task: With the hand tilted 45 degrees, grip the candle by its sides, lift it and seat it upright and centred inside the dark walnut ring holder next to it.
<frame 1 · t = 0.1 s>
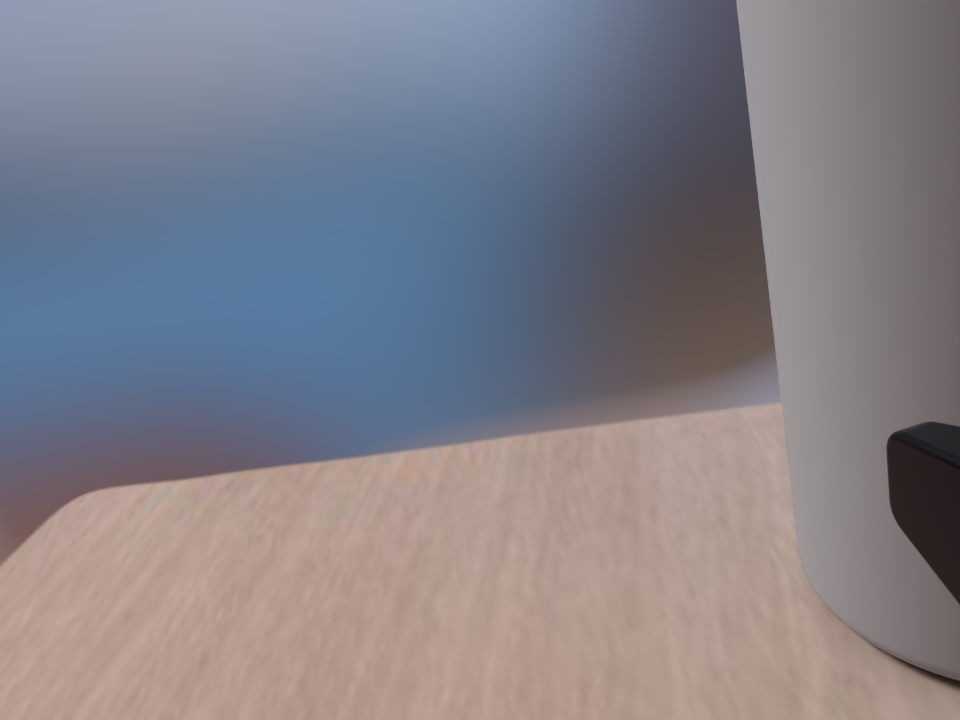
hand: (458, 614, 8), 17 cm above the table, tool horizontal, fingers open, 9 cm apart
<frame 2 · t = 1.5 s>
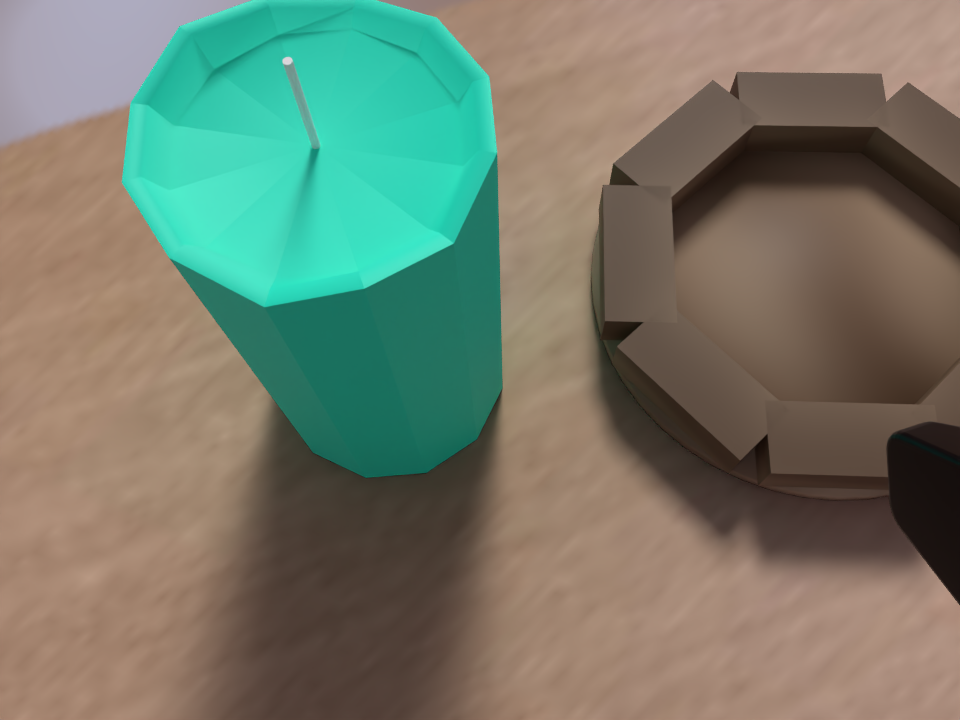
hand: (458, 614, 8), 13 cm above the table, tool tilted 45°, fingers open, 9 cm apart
candle: (392, 372, 24), on the table
ring seat: (811, 283, 24), on the table
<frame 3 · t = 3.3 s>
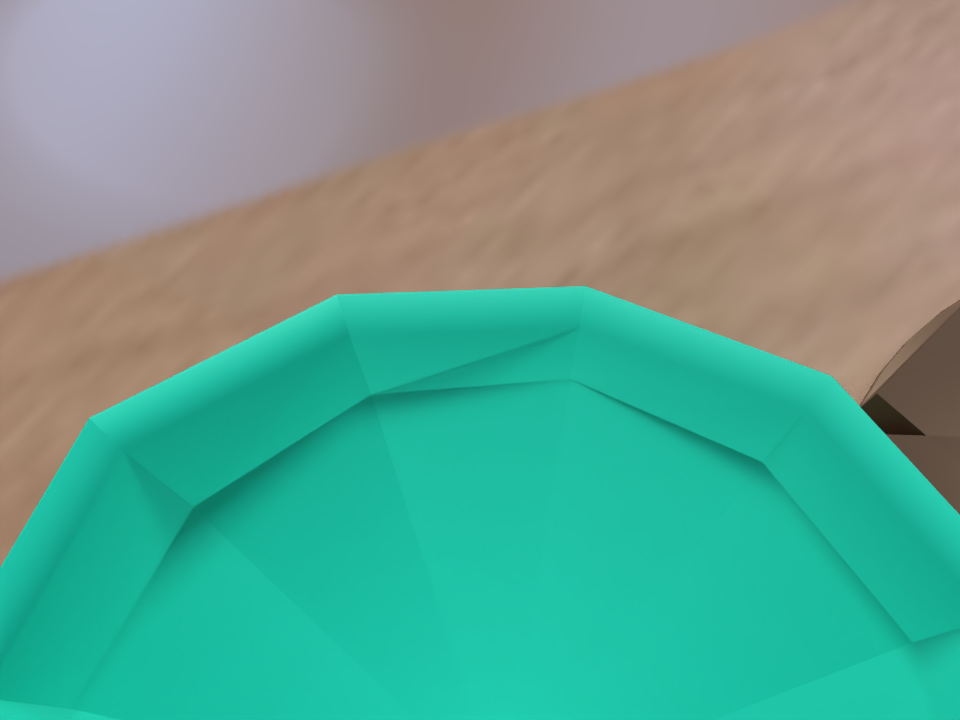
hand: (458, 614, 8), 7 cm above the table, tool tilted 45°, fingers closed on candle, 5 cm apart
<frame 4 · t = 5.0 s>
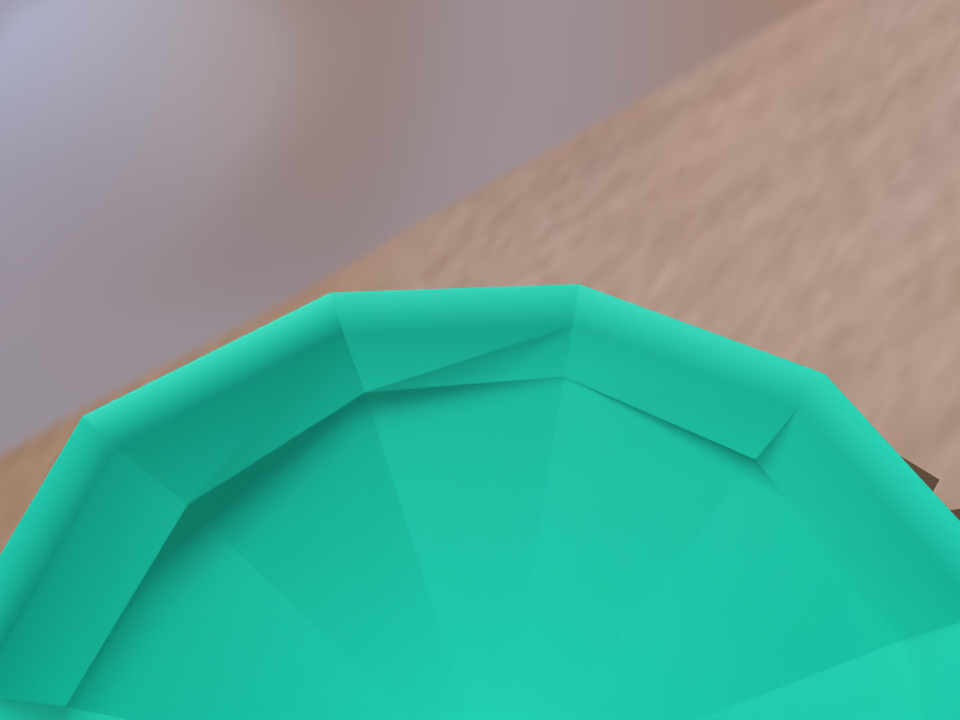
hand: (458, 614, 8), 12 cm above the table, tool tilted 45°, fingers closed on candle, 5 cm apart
ring seat: (709, 654, 20), on the table
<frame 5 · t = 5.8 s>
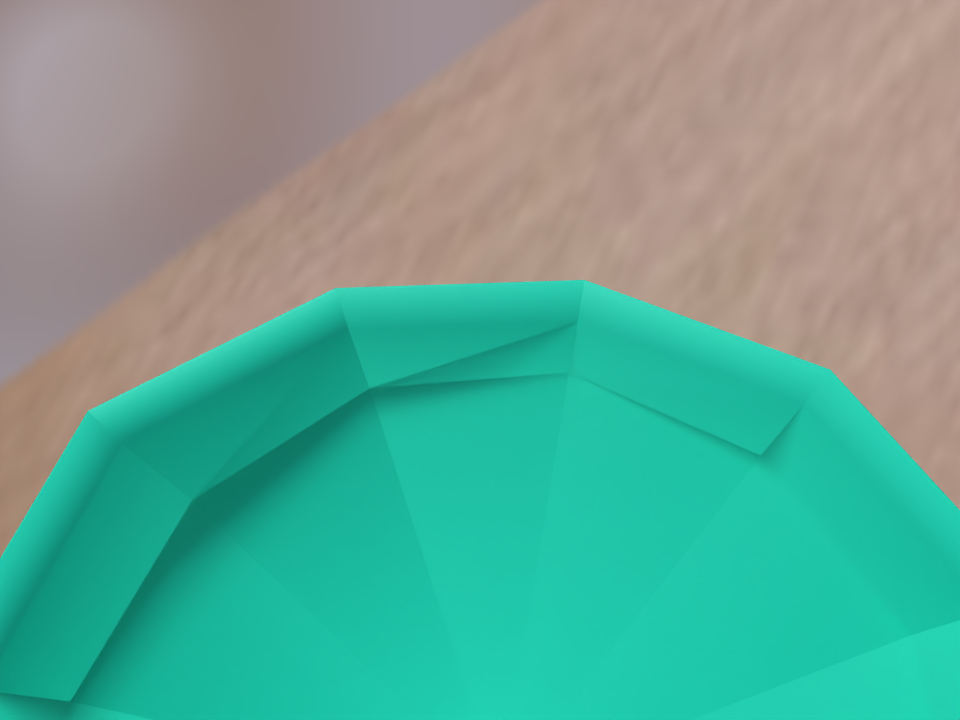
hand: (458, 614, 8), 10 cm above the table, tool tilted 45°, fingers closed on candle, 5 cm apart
when the fingers open (8 cm above the table, at t = 6.6 s): candle stays where it is, resting on ring seat.
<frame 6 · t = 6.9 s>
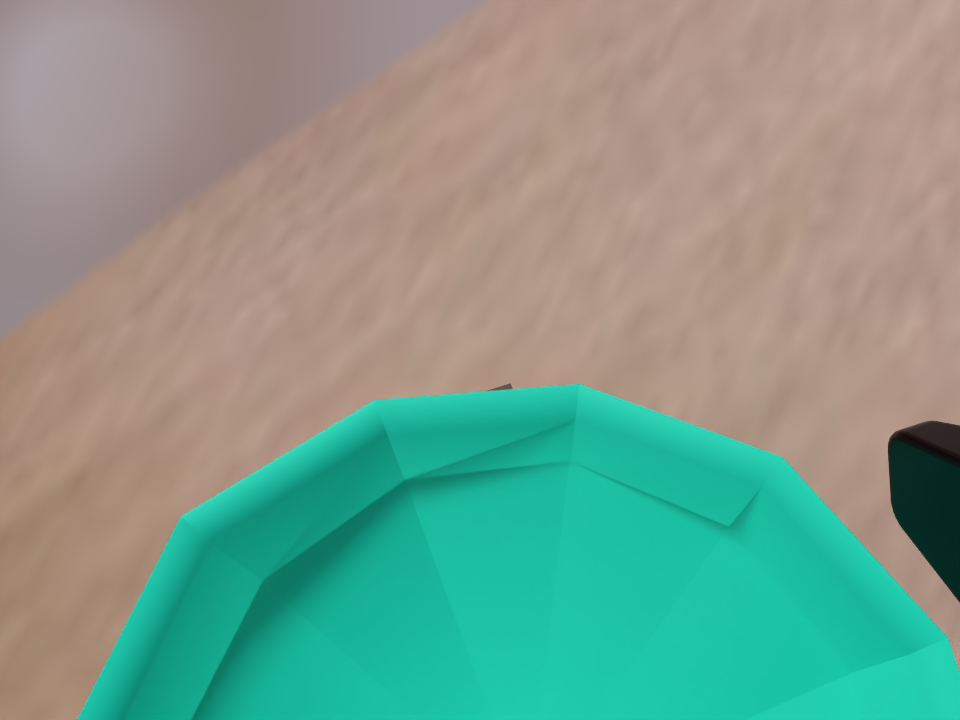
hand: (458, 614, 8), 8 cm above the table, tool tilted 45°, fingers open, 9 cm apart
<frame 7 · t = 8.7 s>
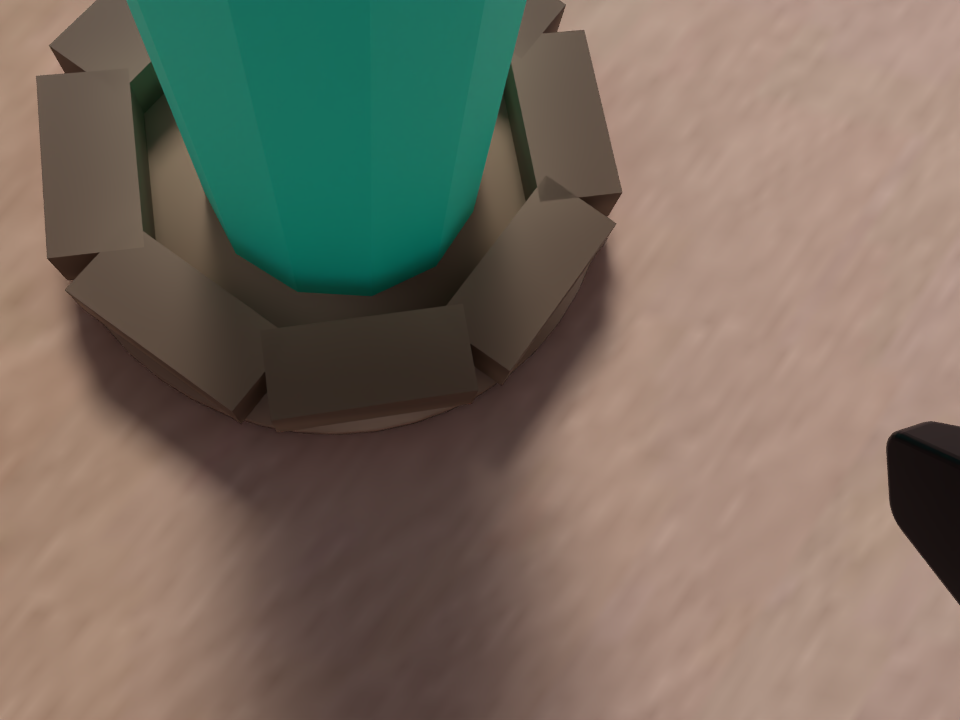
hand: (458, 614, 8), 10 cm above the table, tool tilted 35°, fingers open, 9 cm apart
candle: (343, 174, 20), resting on ring seat
ring seat: (338, 171, 20), on the table
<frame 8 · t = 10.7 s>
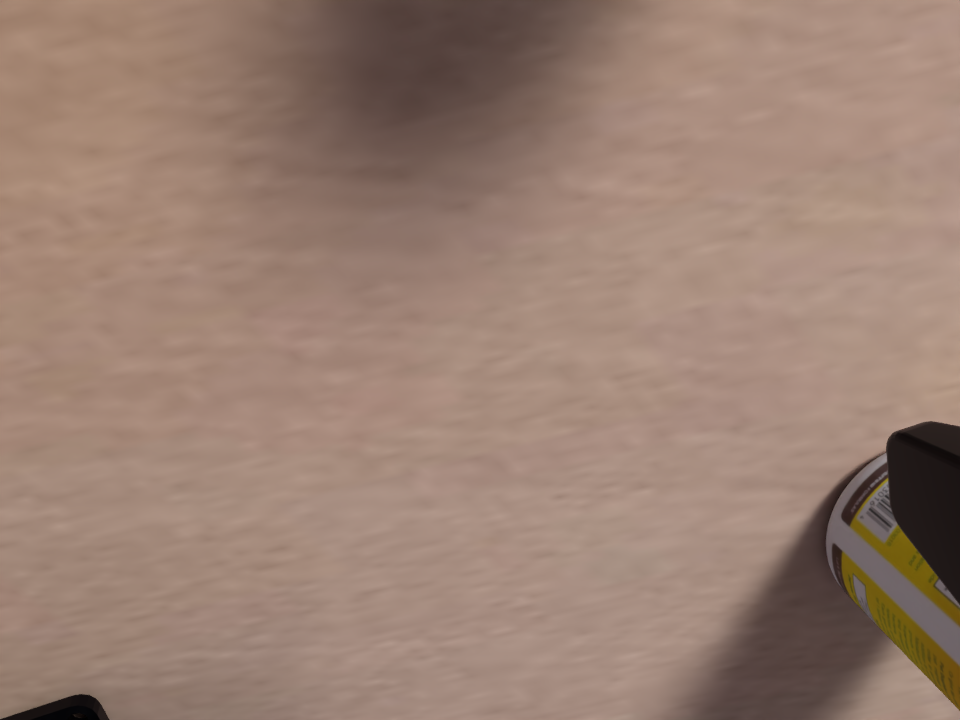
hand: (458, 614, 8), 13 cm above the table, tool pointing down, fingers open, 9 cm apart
supplement bottle: (898, 511, 26), on the table
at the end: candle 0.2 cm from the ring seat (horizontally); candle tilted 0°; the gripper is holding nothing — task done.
